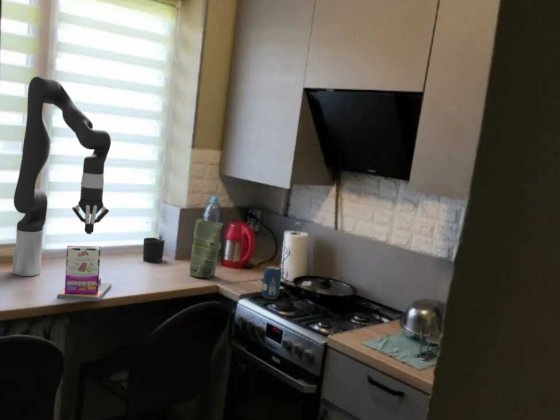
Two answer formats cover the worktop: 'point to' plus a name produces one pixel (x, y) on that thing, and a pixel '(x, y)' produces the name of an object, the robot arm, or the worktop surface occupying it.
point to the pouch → (205, 248)
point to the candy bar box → (82, 270)
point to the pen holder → (153, 250)
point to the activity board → (88, 297)
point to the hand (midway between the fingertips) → (88, 233)
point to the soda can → (271, 282)
